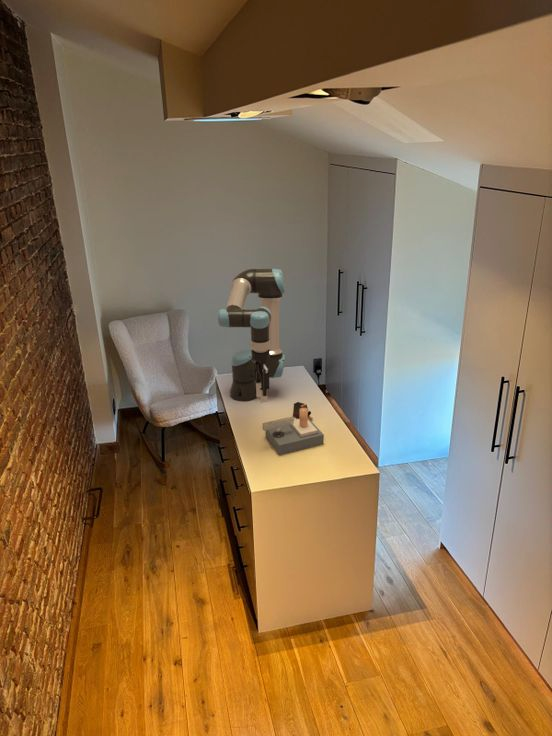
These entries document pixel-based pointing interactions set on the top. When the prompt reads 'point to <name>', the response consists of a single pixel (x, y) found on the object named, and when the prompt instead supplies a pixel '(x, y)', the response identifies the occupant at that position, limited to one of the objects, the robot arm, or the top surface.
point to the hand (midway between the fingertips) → (261, 399)
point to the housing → (293, 439)
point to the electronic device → (297, 408)
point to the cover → (304, 424)
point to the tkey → (278, 424)
